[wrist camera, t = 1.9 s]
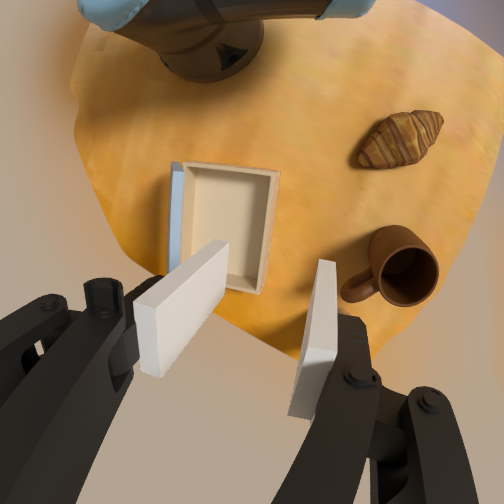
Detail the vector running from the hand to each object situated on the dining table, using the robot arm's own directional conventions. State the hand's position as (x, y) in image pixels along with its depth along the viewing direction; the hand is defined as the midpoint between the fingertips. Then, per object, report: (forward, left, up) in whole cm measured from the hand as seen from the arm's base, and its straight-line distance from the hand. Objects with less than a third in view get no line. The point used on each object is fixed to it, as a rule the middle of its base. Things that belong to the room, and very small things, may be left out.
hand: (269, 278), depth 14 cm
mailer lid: (+5, -13, -17) cm, 22 cm away
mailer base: (+5, -10, -27) cm, 29 cm away
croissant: (-10, +11, -27) cm, 31 cm away
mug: (+6, +11, -27) cm, 30 cm away
